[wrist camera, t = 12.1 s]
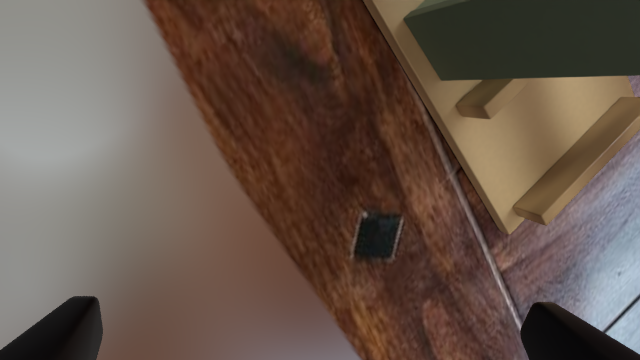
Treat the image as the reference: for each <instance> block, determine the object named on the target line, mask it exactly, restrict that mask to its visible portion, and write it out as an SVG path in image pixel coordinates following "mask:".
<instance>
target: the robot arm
mask: <svg viewBox="0 0 640 360" xmlns="http://www.w3.org/2000/svg"><path fill="white" fill-rule="evenodd" d="M102 334H103V328H102V320H101V312H100V305H99V301H98V299H97V298H96V297H92V296H75V297H72V298H70V299H68V300H67V301H66V302H64V303H63V304H62V305H60V306H59V307H58V308H56V309H55V310H53V311H52V312H51V313H49V314H48V315H47V316H45V317H44V318H43V319H41V320H40V321H39V322H37V323H36V324H35V325H33V326H32V327H31V328H29V329H28V330H27V331H25V332H24V333H23V334H21V335H20V336H19V337H17V338H16V339H15V340H13V341H12V342H11V343H9V344H8V345H7V346H5V347H4V348H3V349H1V350H0V360H96V358H97V355H98V351H99V347H100V344H101V340H102ZM520 334H521V340H522V343H523V345H524V348H525V350H526V352H527V355H528V357H529V360H640V354H638V353H636V352H635V351H633V350H631V349H630V348H628V347H626V346H625V345H623V344H621V343H620V342H618V341H617V340H615V339H613V338H612V337H610V336H608V335H607V334H605V333H603V332H602V331H600V330H598V329H597V328H595V327H593V326H592V325H590V324H588V323H587V322H585V321H584V320H582V319H580V318H579V317H577V316H575V315H574V314H572V313H570V312H569V311H567V310H565V309H564V308H562V307H560V306H559V305H557V304H555V303H552V302H536V303H534V304H533V305H532V306H531V308H530V310H529V312H528V314H527V317H526V319H525V321H524V323H523V325H522V327H521V331H520Z"/></svg>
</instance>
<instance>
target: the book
mask: <svg viewBox="0 0 640 360" xmlns="http://www.w3.org/2000/svg"><path fill="white" fill-rule="evenodd" d="M404 21H405V23H406V24H407V26H408V28H409V29H410V31H411V33H412V34H413V36H414V37H415V39H416V41H417V42H418V44H419V46H420V47H421V49H422V50H423V52H424V54H425V55H426V57H427V58H428V60H429V62H430V63H431V65H432V67H433V68H434V70H435V71H436V73H437V75H438V76H439V78H440V79H441V81H453V80H489V79H526V78H562V77H598V76H635V75H640V0H424V1H423V2H422V3H421V4H420V5H419V6H418V7H417V8H416V9H415V10H413V11H411V12H410V13H409V14H408V15H407V16H405V17H404Z"/></svg>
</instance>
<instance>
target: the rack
mask: <svg viewBox="0 0 640 360" xmlns="http://www.w3.org/2000/svg"><path fill="white" fill-rule="evenodd" d="M423 1H424V0H363V2H364V3H365V5H366V7H367V8H368V10H369V12H370V13H371V15H372V17H373V18H374V20H375V22H376V24H377V25H378V27H379V29H380V30H381V32H382V34H383V35H384V37H385V39H386V40H387V42H388V44H389V45H390V47H391V49H392V50H393V52H394V54H395V55H396V57H397V59H398V60H399V62H400V64H401V65H402V67H403V69H404V71H405V72H406V74H407V76H408V77H409V79H410V81H411V82H412V84H413V86H414V87H415V89H416V91H417V92H418V94H419V96H420V97H421V99H422V101H423V102H424V104H425V106H426V107H427V109H428V111H429V113H430V114H431V116H432V118H433V119H434V121H435V123H436V124H437V126H438V128H439V129H440V131H441V133H442V134H443V136H444V138H445V139H446V141H447V143H448V144H449V146H450V148H451V149H452V151H453V153H454V154H455V156H456V158H457V160H458V161H459V163H460V165H461V166H462V168H463V170H464V171H465V173H466V175H467V176H468V178H469V180H470V181H471V183H472V185H473V186H474V188H475V190H476V191H477V193H478V195H479V196H480V198H481V200H482V202H483V203H484V205H485V207H486V208H487V210H488V212H489V213H490V215H491V217H492V218H493V220H494V222H495V223H496V225H497V227H498V228H499V230H500V231H502V232H504V233H507V234H511V233H512V232H513V231H514V230H515V229H516V228H517V227H518V226H519V225H520V224H521V223H522V222H523V221H524V220H525V219H528V220H531V221H534V222H537V223H540V224H543V225H545V226H547V225H548V224H549V223H550V222H551V221H552V220H553V219H554V218H555V217H556V216H557V215H558V214H559V213H560V212H561V210H562V209H563V208H564V207H565V206H566V205H567V204H568V203H569V202H570V201H571V200H572V199H573V198H574V197H575V196H576V195H577V194H578V193H579V192H580V191H581V190H582V189H583V188H584V187H585V186H586V185H587V184H588V183H589V181H590V180H591V179H592V178H593V177H594V176H595V175H596V174H597V173H598V172H599V171H600V170H601V169H602V168H603V167H604V166H605V165H606V164H607V163H608V162H609V161H610V160H611V159H612V158H613V157H614V156H615V155H616V153H617V152H618V151H619V150H620V149H621V148H622V147H623V146H624V145H625V144H626V143H627V142H628V141H629V140H630V139H631V138H632V137H633V136H634V135H635V134H636V133H637V132H638V131H639V130H640V97H635V96H634V93H633V91H632V88H631V85H630V82H629V79H628V76H598V77H562V78H526V79H489V80H453V81H441V79H440V78H439V76H438V75H437V73H436V71H435V70H434V68H433V67H432V65H431V63H430V62H429V60H428V58H427V57H426V55H425V54H424V52H423V50H422V49H421V47H420V46H419V44H418V42H417V41H416V39H415V37H414V36H413V34H412V33H411V31H410V29H409V28H408V26H407V24H406V23H405V21H404V17H405V16H407V15H408V14H409V13H410V12H411V11H413V10H415V9H416V8H417V7H418V6H419V5H420V4H421V3H422V2H423Z"/></svg>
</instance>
